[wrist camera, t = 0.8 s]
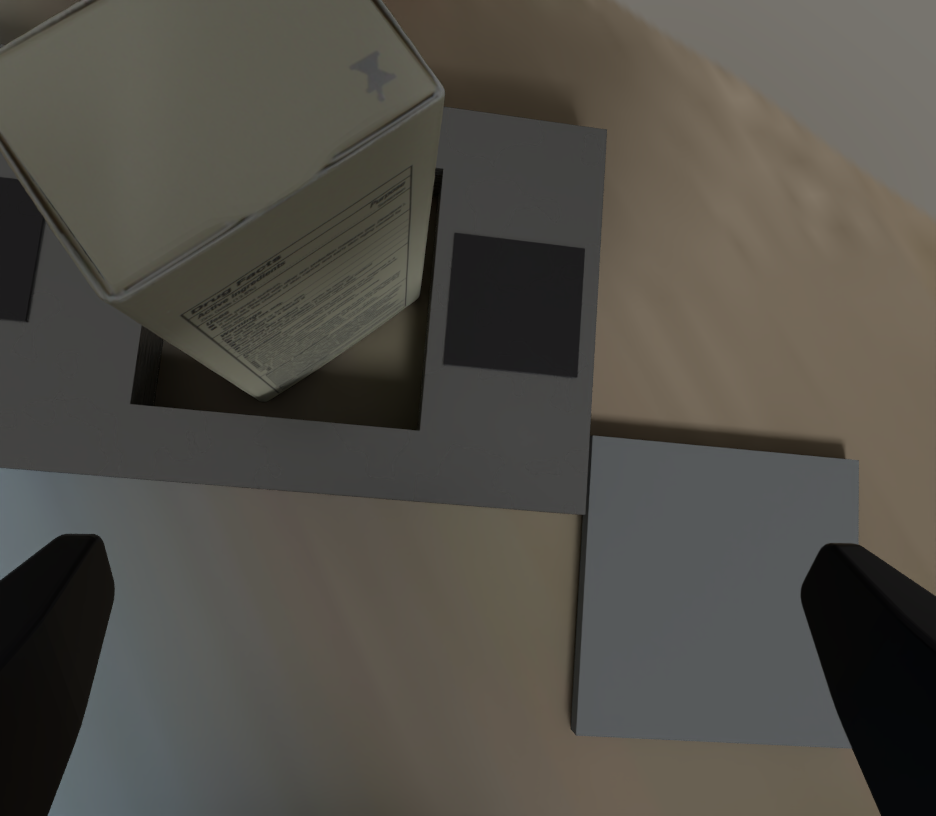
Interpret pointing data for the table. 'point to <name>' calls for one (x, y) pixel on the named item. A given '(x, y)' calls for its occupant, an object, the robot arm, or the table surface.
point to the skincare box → (232, 169)
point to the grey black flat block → (333, 444)
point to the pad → (705, 593)
